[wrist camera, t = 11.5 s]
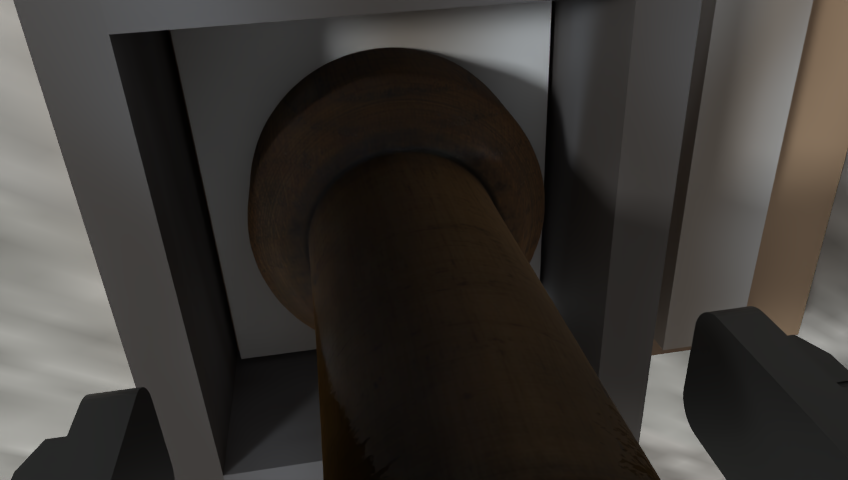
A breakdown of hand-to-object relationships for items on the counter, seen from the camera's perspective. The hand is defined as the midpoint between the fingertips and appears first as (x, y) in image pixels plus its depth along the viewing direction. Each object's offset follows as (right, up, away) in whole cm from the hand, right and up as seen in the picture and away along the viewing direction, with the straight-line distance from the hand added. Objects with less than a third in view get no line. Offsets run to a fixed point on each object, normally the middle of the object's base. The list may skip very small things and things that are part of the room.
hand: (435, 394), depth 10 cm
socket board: (+1, +5, +9) cm, 10 cm away
